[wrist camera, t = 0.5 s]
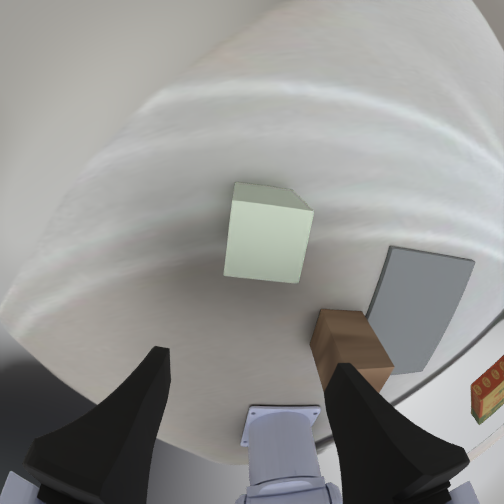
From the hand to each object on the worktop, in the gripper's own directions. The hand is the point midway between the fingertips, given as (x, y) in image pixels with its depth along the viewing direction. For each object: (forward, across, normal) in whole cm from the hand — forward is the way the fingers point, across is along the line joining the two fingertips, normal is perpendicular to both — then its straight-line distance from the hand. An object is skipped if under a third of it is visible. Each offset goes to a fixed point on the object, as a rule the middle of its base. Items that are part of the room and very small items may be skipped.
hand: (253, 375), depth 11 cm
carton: (+11, -46, +19) cm, 51 cm away
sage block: (+10, 0, -4) cm, 11 cm away
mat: (+10, -16, +3) cm, 19 cm away
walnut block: (+10, -8, +4) cm, 14 cm away
